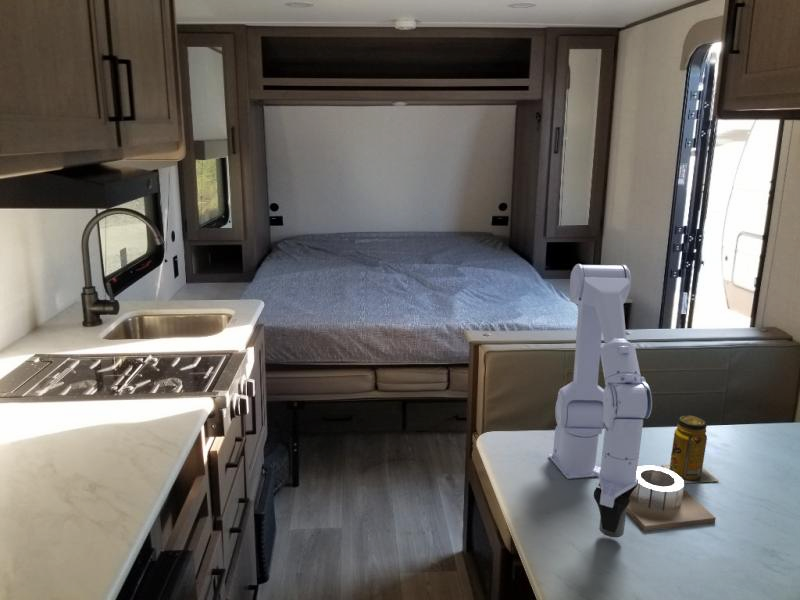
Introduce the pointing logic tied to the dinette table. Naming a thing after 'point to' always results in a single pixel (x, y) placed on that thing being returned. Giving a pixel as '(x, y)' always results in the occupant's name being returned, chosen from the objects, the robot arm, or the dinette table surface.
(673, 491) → the white faceted ring
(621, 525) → the dark rounded capsule
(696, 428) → the condiment
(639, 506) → the walnut board
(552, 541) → the dinette table surface
